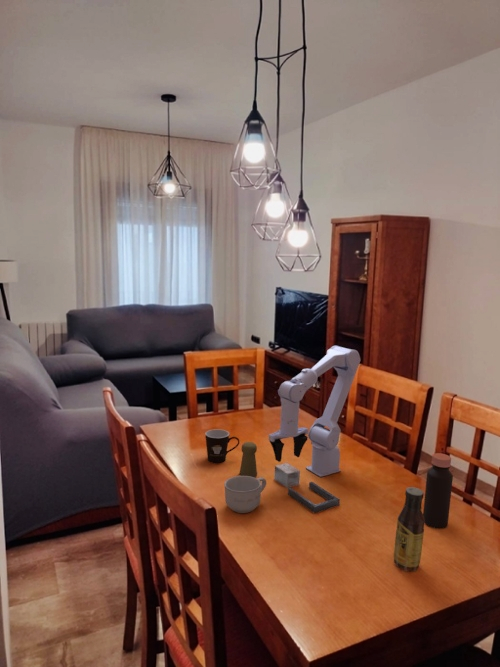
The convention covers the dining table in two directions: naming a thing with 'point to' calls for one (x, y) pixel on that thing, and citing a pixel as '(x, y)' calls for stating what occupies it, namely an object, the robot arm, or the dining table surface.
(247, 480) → the teacup
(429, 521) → the dark water bottle
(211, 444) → the coffee mug
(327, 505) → the channel bracket
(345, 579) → the dining table surface
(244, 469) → the olive pawn piece
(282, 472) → the block
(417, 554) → the sauce bottle
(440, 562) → the dining table surface
